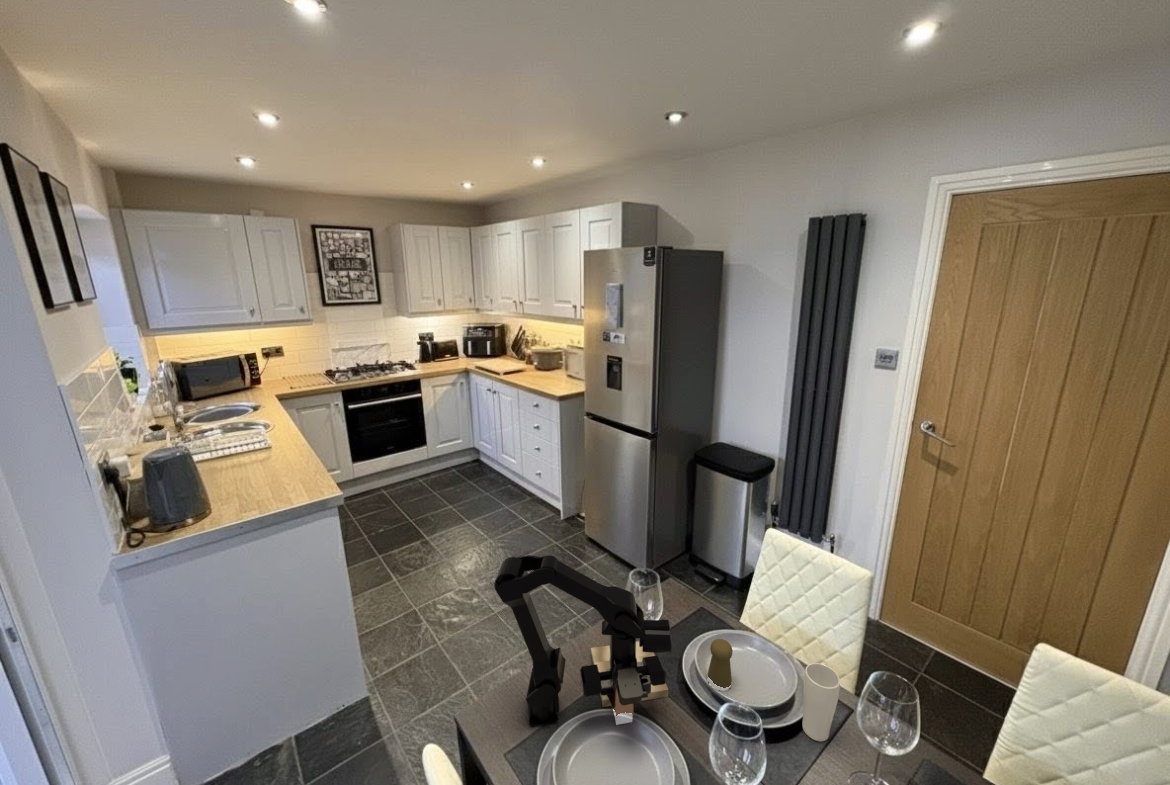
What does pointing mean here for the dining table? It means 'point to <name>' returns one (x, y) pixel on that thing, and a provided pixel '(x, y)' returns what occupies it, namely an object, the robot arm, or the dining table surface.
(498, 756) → the dining table surface
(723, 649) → the olive brown pawn
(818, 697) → the drinking glass
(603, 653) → the wooden square hole board
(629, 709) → the brown tall block
